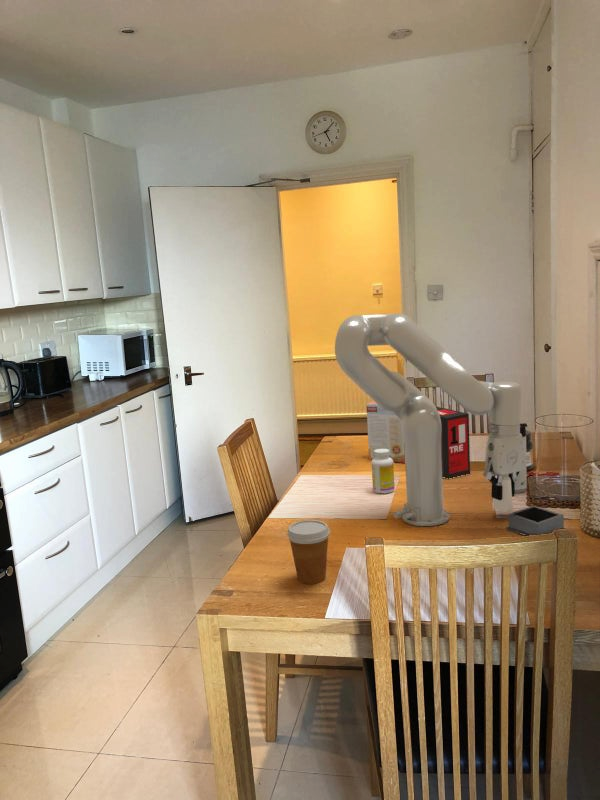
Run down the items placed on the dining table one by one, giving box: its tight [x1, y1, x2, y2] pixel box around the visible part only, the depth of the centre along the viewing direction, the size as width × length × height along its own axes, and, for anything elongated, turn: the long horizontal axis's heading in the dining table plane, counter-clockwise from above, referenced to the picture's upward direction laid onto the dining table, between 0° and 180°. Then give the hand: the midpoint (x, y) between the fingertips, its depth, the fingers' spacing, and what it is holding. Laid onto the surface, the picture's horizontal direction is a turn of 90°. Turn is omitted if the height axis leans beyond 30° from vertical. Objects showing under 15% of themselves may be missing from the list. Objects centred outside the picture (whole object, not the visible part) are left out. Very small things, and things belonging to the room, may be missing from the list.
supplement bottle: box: [371, 449, 396, 495], centre depth 203 cm, size 7×7×13 cm
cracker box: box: [365, 400, 405, 464], centre depth 236 cm, size 14×6×21 cm, turn 58°
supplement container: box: [526, 430, 534, 472], centre depth 217 cm, size 10×10×12 cm
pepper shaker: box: [491, 474, 514, 513], centre depth 175 cm, size 5×5×11 cm
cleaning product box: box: [435, 405, 471, 480], centre depth 218 cm, size 16×9×20 cm, turn 26°
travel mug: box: [515, 422, 528, 494], centre depth 195 cm, size 6×7×20 cm
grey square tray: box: [505, 505, 567, 537], centre depth 166 cm, size 10×10×4 cm
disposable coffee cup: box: [286, 519, 331, 585], centre depth 148 cm, size 10×10×12 cm
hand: (502, 496), depth 176 cm, fingers closed on pepper shaker, 3 cm apart
